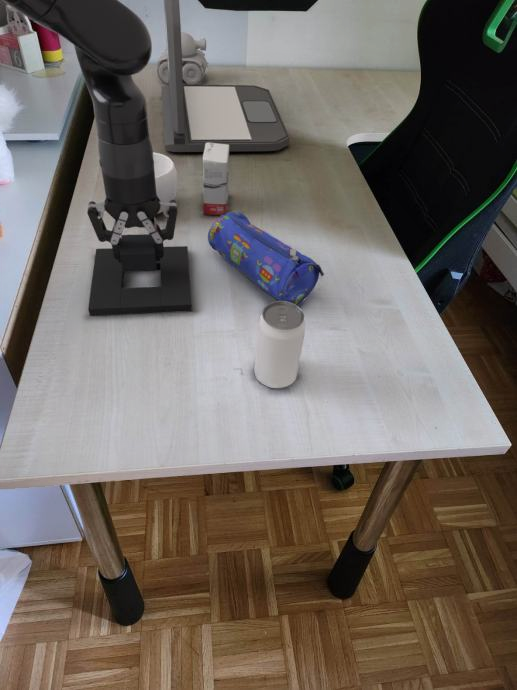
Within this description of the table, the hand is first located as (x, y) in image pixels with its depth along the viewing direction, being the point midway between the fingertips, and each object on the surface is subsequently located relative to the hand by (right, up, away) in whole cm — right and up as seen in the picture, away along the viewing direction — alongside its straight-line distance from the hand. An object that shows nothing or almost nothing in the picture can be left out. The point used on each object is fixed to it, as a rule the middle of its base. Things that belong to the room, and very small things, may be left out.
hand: (139, 258), depth 87 cm
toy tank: (-3, +67, +72) cm, 99 cm away
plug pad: (0, 0, 0) cm, 0 cm away
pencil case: (+20, -2, +7) cm, 22 cm away
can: (+23, -19, -9) cm, 31 cm away
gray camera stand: (+10, +45, +52) cm, 70 cm away
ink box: (+11, +15, +23) cm, 30 cm away
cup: (-3, +14, +20) cm, 24 cm away
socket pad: (0, -4, +3) cm, 5 cm away
